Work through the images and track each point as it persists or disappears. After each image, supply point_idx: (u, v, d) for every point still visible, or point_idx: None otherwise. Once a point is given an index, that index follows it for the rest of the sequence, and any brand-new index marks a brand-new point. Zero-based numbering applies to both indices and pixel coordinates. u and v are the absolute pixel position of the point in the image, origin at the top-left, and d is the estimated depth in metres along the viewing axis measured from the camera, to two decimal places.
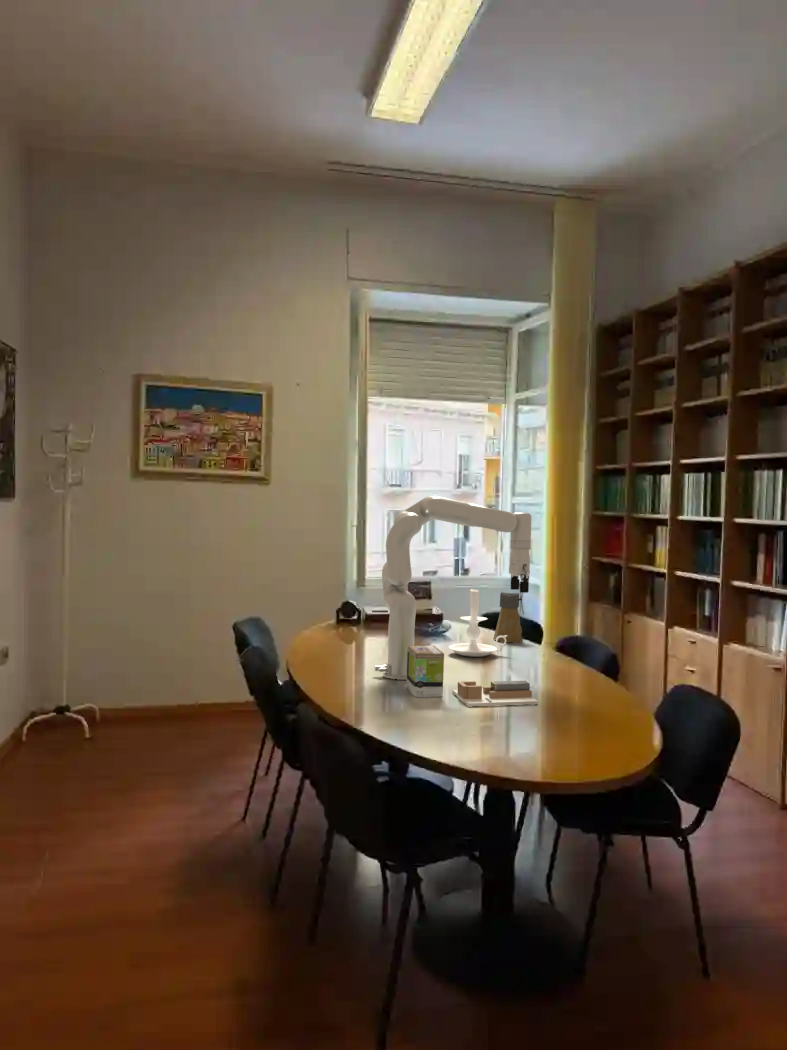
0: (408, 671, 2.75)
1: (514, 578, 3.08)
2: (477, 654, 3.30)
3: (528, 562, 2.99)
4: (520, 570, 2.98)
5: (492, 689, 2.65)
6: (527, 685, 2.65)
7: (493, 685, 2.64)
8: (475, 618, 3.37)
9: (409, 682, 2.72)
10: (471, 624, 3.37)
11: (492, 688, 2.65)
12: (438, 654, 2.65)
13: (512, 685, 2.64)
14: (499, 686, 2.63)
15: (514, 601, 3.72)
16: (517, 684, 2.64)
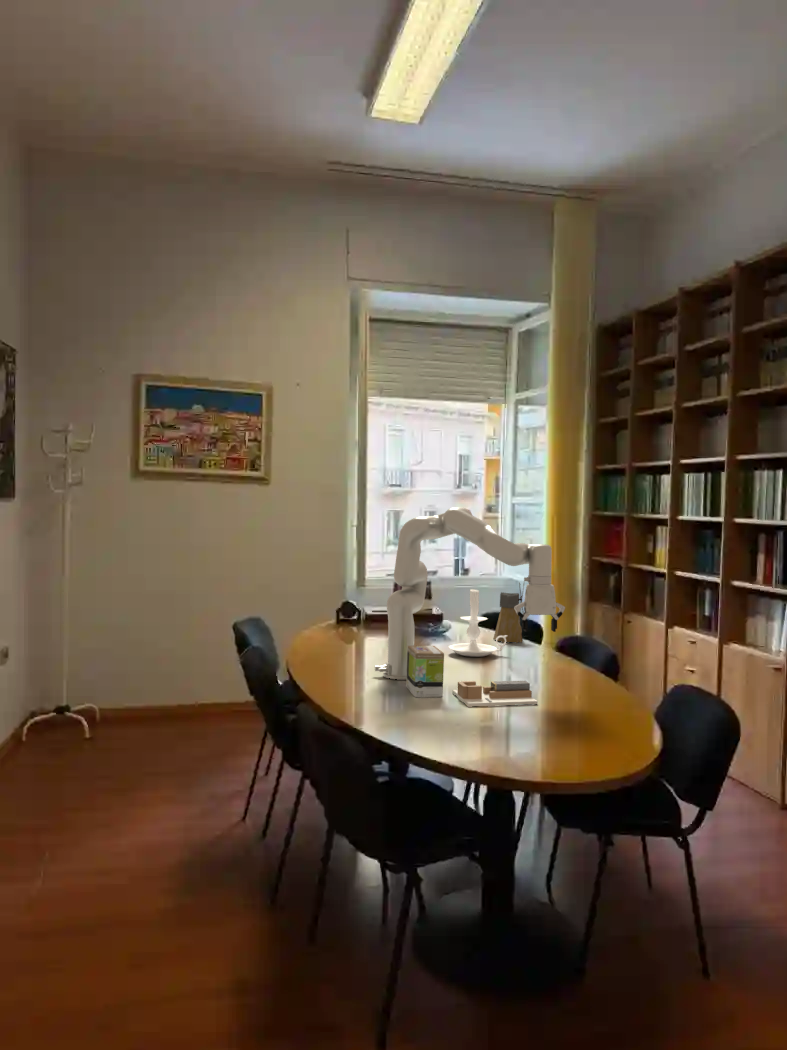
0: (408, 671, 2.75)
1: None
2: (477, 654, 3.30)
3: None
4: None
5: (492, 689, 2.65)
6: (527, 685, 2.65)
7: (493, 685, 2.64)
8: (475, 618, 3.37)
9: (409, 682, 2.72)
10: (471, 624, 3.37)
11: (492, 688, 2.65)
12: (438, 654, 2.65)
13: (512, 685, 2.64)
14: (499, 686, 2.63)
15: (514, 601, 3.72)
16: (517, 684, 2.64)
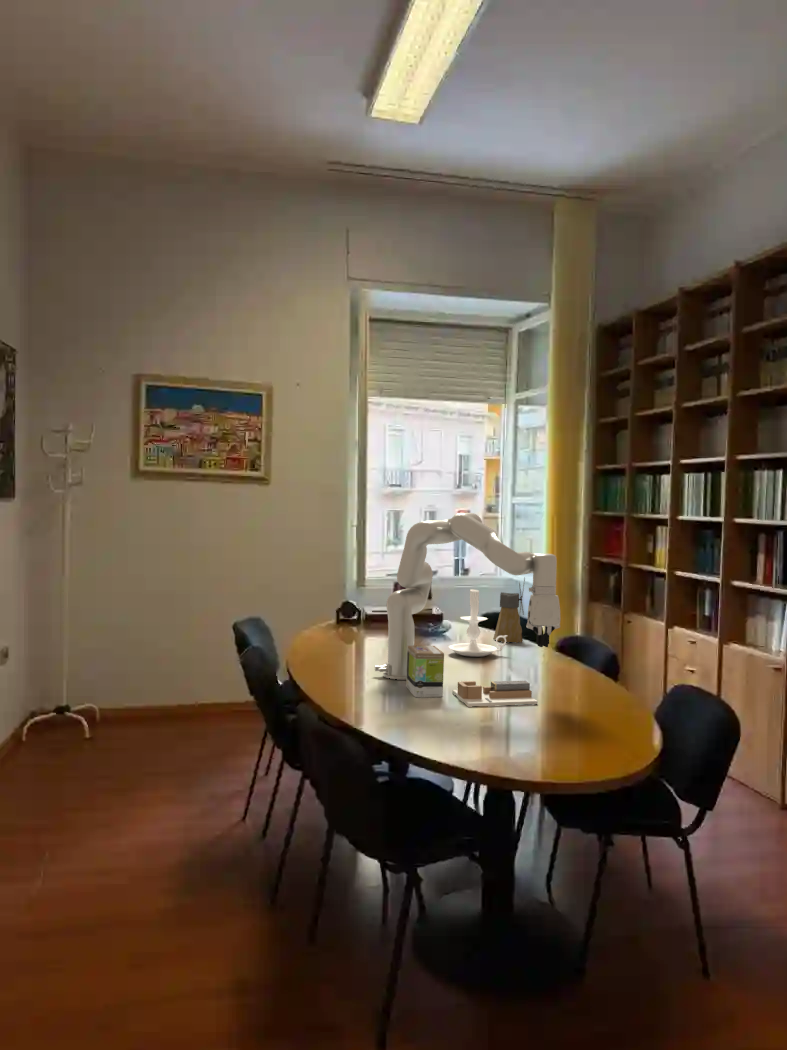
0: (408, 671, 2.75)
1: (541, 631, 2.67)
2: (477, 654, 3.30)
3: None
4: None
5: (492, 689, 2.65)
6: (527, 685, 2.65)
7: (493, 685, 2.64)
8: (475, 618, 3.37)
9: (409, 682, 2.72)
10: (471, 624, 3.37)
11: (492, 688, 2.65)
12: (438, 654, 2.65)
13: (512, 685, 2.64)
14: (499, 686, 2.63)
15: (514, 601, 3.72)
16: (517, 684, 2.64)
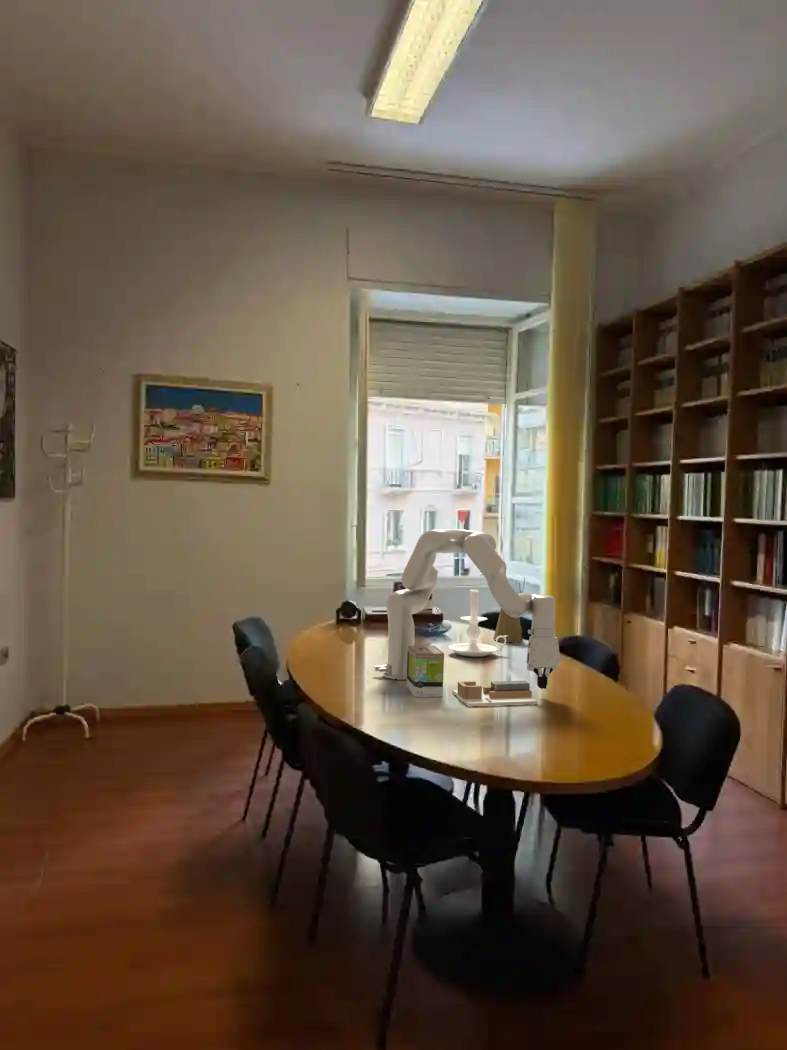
0: (408, 671, 2.75)
1: None
2: (477, 654, 3.30)
3: None
4: None
5: (492, 689, 2.65)
6: (527, 685, 2.65)
7: (493, 685, 2.64)
8: (475, 618, 3.37)
9: (409, 682, 2.72)
10: (471, 624, 3.37)
11: (492, 688, 2.65)
12: (438, 654, 2.65)
13: (512, 685, 2.64)
14: (499, 686, 2.63)
15: None
16: (517, 684, 2.64)
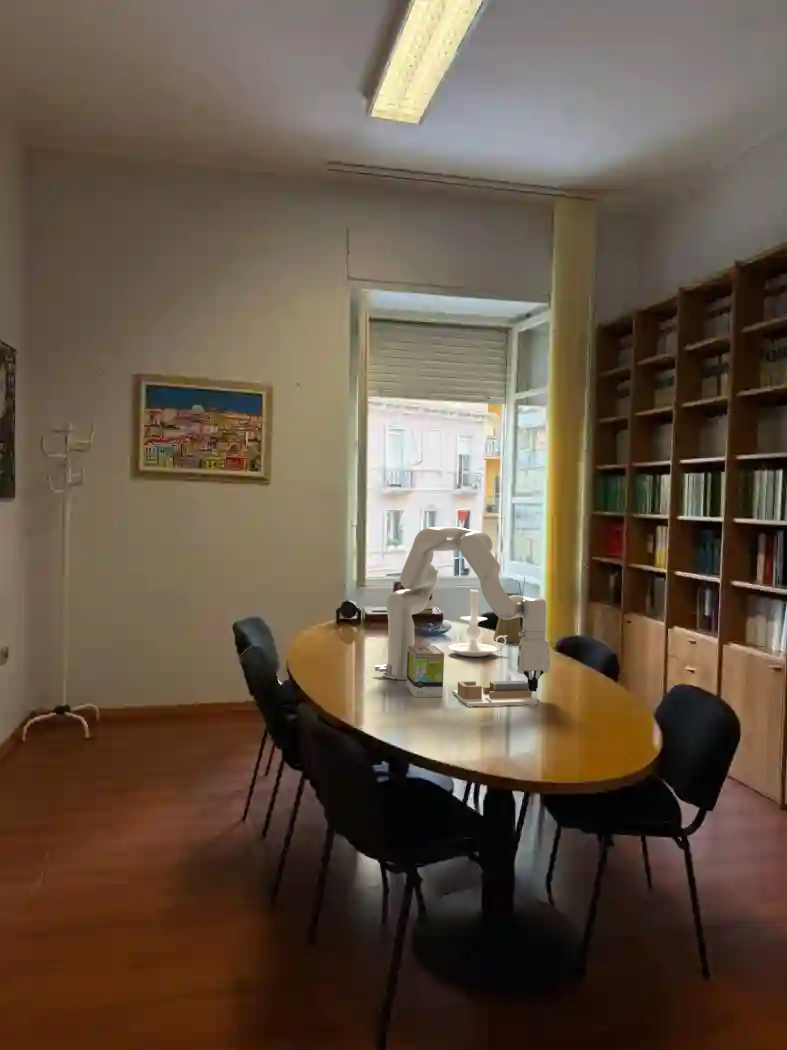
0: (408, 671, 2.75)
1: None
2: (477, 654, 3.30)
3: None
4: None
5: (491, 689, 2.65)
6: (526, 685, 2.65)
7: (492, 685, 2.64)
8: (475, 618, 3.37)
9: (409, 682, 2.72)
10: (471, 624, 3.37)
11: (491, 688, 2.65)
12: (438, 654, 2.65)
13: (511, 685, 2.64)
14: (498, 686, 2.63)
15: None
16: (516, 684, 2.64)
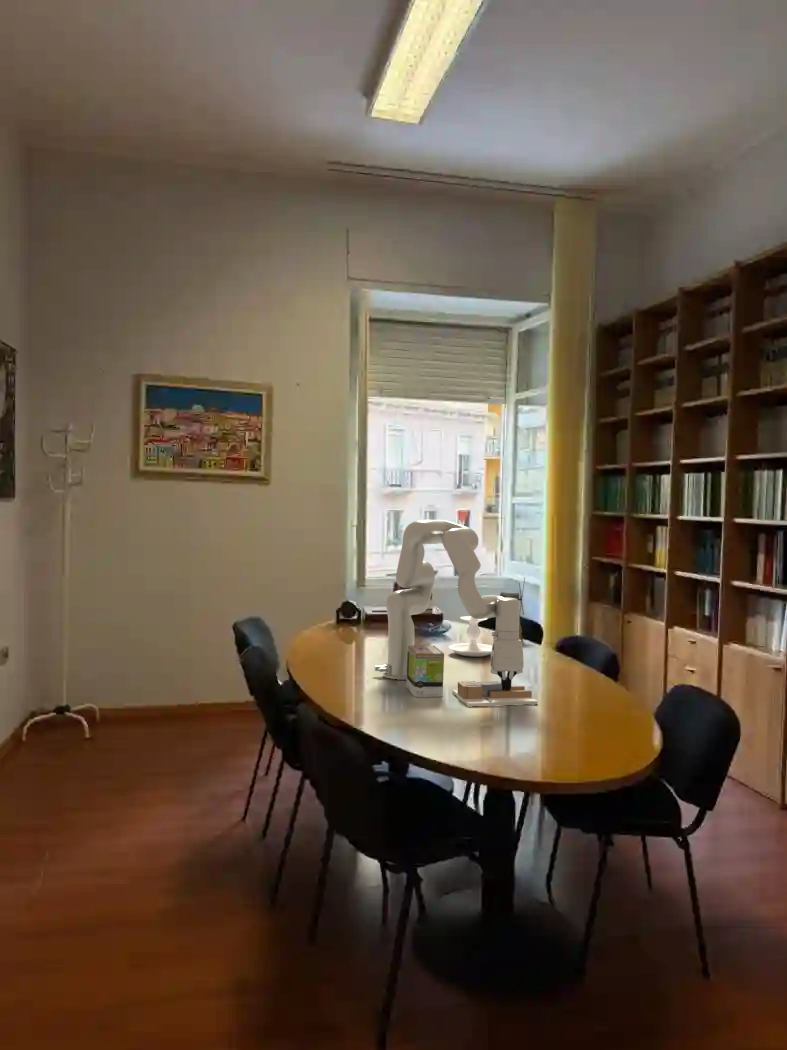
0: (408, 671, 2.75)
1: (505, 676, 2.65)
2: (477, 654, 3.30)
3: None
4: None
5: None
6: (499, 686, 2.63)
7: None
8: None
9: (409, 682, 2.72)
10: (471, 624, 3.37)
11: None
12: (438, 654, 2.65)
13: (484, 686, 2.62)
14: None
15: None
16: (489, 685, 2.62)
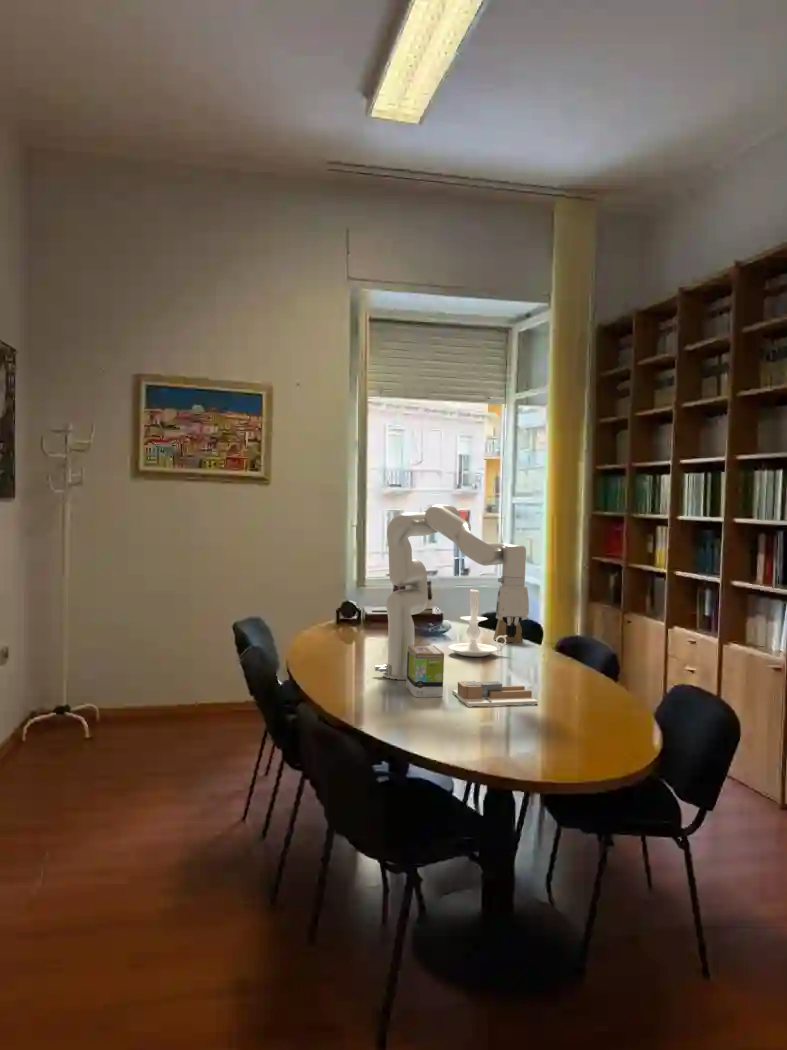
0: (408, 671, 2.75)
1: None
2: (477, 654, 3.30)
3: None
4: None
5: None
6: (499, 686, 2.63)
7: None
8: (475, 618, 3.37)
9: (409, 682, 2.72)
10: (471, 624, 3.37)
11: None
12: (438, 654, 2.65)
13: (484, 686, 2.62)
14: None
15: None
16: (489, 685, 2.62)
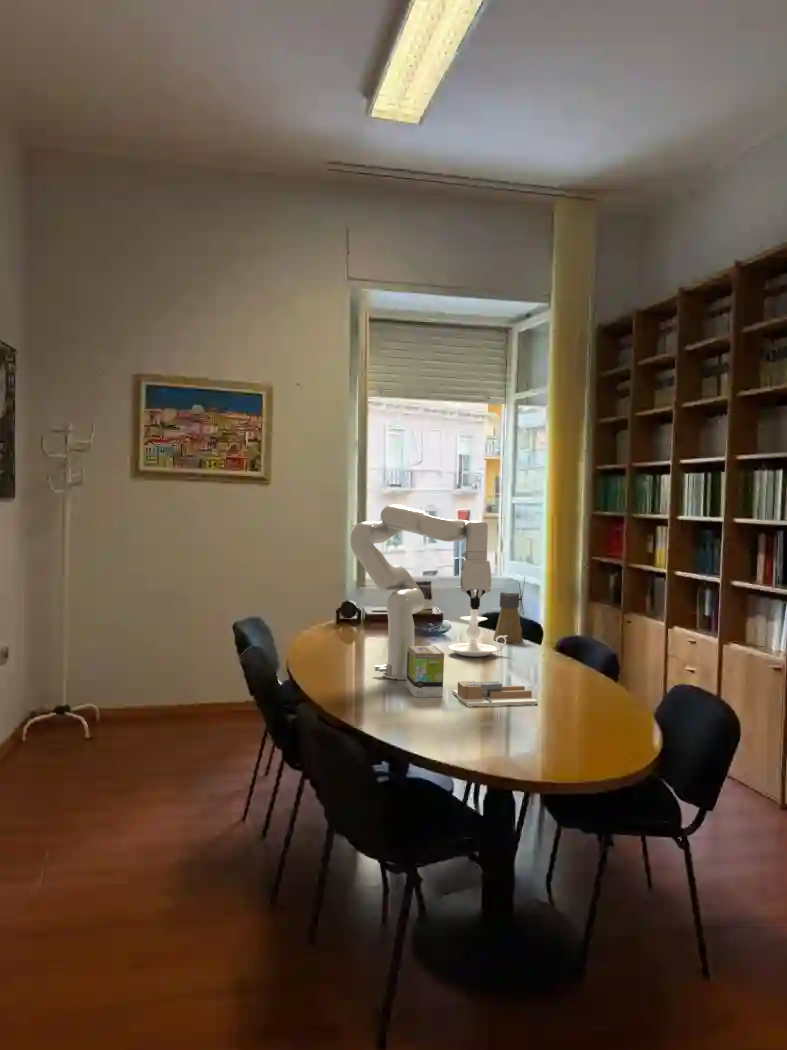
0: (408, 671, 2.75)
1: (474, 594, 2.81)
2: (477, 654, 3.30)
3: None
4: None
5: None
6: (499, 686, 2.63)
7: None
8: (475, 618, 3.37)
9: (409, 682, 2.72)
10: (471, 624, 3.37)
11: None
12: (438, 654, 2.65)
13: (484, 686, 2.62)
14: None
15: (514, 601, 3.72)
16: (489, 685, 2.62)
